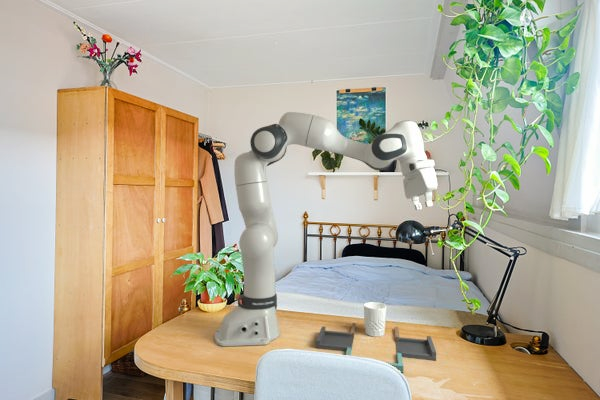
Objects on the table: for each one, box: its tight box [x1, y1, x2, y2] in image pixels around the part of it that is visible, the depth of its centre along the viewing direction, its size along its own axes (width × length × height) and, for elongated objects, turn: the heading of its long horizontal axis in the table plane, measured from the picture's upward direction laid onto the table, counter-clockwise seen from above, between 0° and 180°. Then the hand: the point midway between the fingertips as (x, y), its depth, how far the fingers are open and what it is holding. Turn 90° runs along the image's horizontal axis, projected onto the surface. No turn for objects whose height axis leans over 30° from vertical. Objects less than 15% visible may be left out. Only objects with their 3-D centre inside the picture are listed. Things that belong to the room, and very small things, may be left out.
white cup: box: [363, 301, 388, 338], centre depth 128 cm, size 8×8×10 cm
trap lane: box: [315, 322, 437, 374], centre depth 118 cm, size 32×36×2 cm
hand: (423, 208), depth 120 cm, fingers open, 8 cm apart
